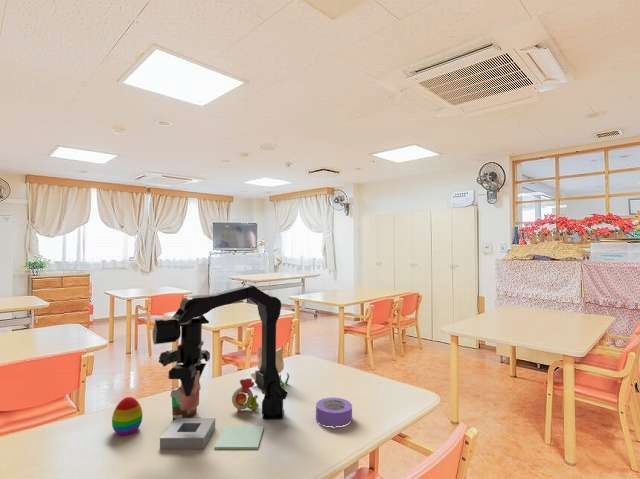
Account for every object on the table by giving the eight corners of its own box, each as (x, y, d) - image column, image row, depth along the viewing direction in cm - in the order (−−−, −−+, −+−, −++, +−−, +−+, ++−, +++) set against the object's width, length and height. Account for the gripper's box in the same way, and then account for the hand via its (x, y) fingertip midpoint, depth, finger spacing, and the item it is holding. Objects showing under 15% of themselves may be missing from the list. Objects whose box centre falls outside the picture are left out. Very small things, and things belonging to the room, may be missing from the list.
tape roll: (356, 416, 123) (356, 401, 123) (344, 431, 112) (344, 415, 112) (324, 409, 127) (324, 394, 128) (309, 423, 117) (309, 407, 117)
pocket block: (215, 427, 113) (215, 418, 113) (203, 449, 101) (203, 438, 101) (176, 427, 113) (176, 417, 113) (159, 448, 101) (159, 437, 101)
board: (263, 428, 113) (263, 426, 113) (257, 449, 101) (257, 447, 101) (224, 427, 113) (224, 425, 113) (214, 449, 101) (214, 446, 101)
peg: (199, 404, 109) (199, 370, 110) (194, 410, 105) (195, 375, 106) (185, 404, 109) (186, 370, 110) (180, 410, 105) (181, 375, 106)
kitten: (292, 380, 155) (292, 344, 155) (284, 389, 145) (285, 351, 145) (259, 377, 158) (259, 342, 158) (249, 385, 148) (250, 348, 149)
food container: (187, 424, 115) (188, 392, 116) (169, 422, 117) (170, 390, 117) (207, 407, 127) (207, 378, 128) (191, 406, 129) (191, 377, 129)
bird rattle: (241, 421, 122) (265, 405, 126) (228, 392, 121) (253, 377, 125) (236, 413, 128) (259, 398, 132) (224, 386, 126) (248, 372, 130)
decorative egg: (113, 427, 113) (114, 394, 113) (142, 422, 116) (143, 390, 116) (109, 440, 105) (110, 405, 106) (141, 434, 109) (142, 400, 109)
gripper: (175, 332, 117) (174, 381, 117) (149, 348, 98) (148, 406, 98) (210, 332, 117) (209, 381, 117) (191, 348, 99) (190, 406, 98)
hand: (190, 393), depth 107 cm, fingers closed on peg, 4 cm apart
